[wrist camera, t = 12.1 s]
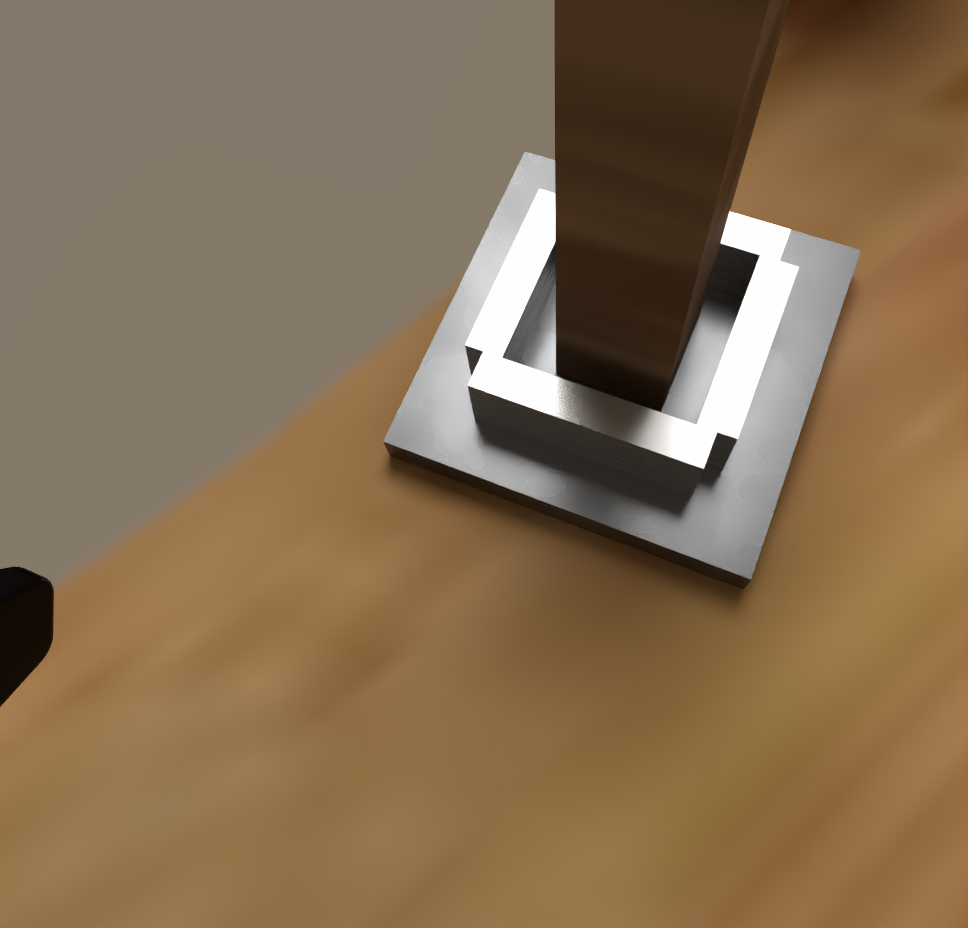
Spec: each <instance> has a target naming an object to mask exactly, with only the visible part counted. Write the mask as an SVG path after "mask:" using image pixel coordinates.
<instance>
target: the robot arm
mask: <svg viewBox="0 0 968 928" xmlns="http://www.w3.org/2000/svg"><path fill="white" fill-rule="evenodd" d="M53 613H54V589H53V586H52V584H51V582H50V581H49V580H48V579H47V578H45V577H43V576H40V575H38V574H36V573H34V572H32V571H29V570H27V569H25V568H21V567H9V568H4V569H0V707H1V705H2V704H3V703H4V702H5V701H6V700H7V699H8V698H9V697H10V696H11V694H12V693H13V692H14V691H15V690H16V689H17V688H18V687H19V686H20V684H21V683H22V682H23V681H24V680H25V679H26V678H27V677H28V676H29V675H30V673H31V672H32V671H33V670H34V669H35V668H36V667H37V666H38V665H39V663H40V662H41V661H42V660H43V659H44V657H45V656H46V654H47V653H48V651H49V649H50V646H51V643H52V640H53Z"/></svg>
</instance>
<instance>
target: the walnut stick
mask: <svg viewBox="0 0 968 928" xmlns="http://www.w3.org/2000/svg"><path fill="white" fill-rule="evenodd" d="M789 4H790V0H555V252H556V371H557V372H560V373H562V374H565V375H568V376H571V377H574V378H577V379H579V380H582V381H585V382H588V383H591V384H594V385H596V386H599V387H602V388H605V389H608V390H611V391H613V392H616V393H619V394H622V395H625V396H628V397H630V398H633V399H636V400H639V401H642V402H645V403H647V404H650V405H653V406H656V407H659V408H663V406H664V403H665V401H666V398H667V396H668V393H669V391H670V388H671V386H672V383H673V381H674V378H675V376H676V373H677V371H678V368H679V366H680V363H681V361H682V358H683V356H684V353H685V351H686V348H687V346H688V343H689V341H690V338H691V336H692V333H693V331H694V328H695V326H696V323H697V321H698V318H699V316H700V312H701V309H702V306H703V302H704V299H705V295H706V292H707V288H708V285H709V281H710V278H711V274H712V271H713V267H714V264H715V260H716V257H717V253H718V250H719V247H720V243H721V240H722V236H723V233H724V229H725V226H726V222H727V219H728V215H729V212H730V208H731V205H732V201H733V198H734V194H735V191H736V188H737V184H738V181H739V177H740V174H741V170H742V167H743V163H744V160H745V156H746V153H747V149H748V146H749V142H750V139H751V135H752V132H753V129H754V125H755V122H756V118H757V115H758V111H759V108H760V104H761V101H762V97H763V94H764V90H765V87H766V83H767V80H768V76H769V73H770V70H771V66H772V63H773V59H774V56H775V52H776V49H777V45H778V42H779V38H780V35H781V31H782V28H783V24H784V21H785V17H786V14H787V11H788V7H789Z"/></svg>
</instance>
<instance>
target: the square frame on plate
mask: <svg viewBox="0 0 968 928" xmlns="http://www.w3.org/2000/svg"><path fill="white" fill-rule="evenodd" d="M860 251H861V250H859V249H855V248H852V247H848V246H845V245H842V244H838V243H835V242H831V241H828V240H825V239H821V238H818V237H814V236H811V235H808V234H804V233H801V232H797V231H794V230H791V229H788V228H784V227H781V226H778V225H774V224H771V223H767V222H764V221H761V220H757V219H754V218H750V217H747V216H743V215H740V214H737V213H733V212H729V215H728V219H727V222H726V226H725V229H724V233H723V236H722V240H721V243H720V247H719V250H718V253H717V257H716V260H715V264H714V267H713V271H712V274H711V278H710V281H709V285H708V288H707V292H706V295H705V299H704V302H703V306H702V309H701V312H700V316H699V318H698V321H697V323H696V326H695V328H694V331H693V333H692V336H691V338H690V341H689V343H688V346H687V348H686V351H685V353H684V356H683V358H682V361H681V363H680V366H679V368H678V371H677V373H676V376H675V378H674V381H673V383H672V386H671V388H670V391H669V393H668V396H667V398H666V401H665V403H664V406H663V408H659V407H656V406H653V405H650V404H647V403H645V402H642V401H639V400H636V399H633V398H630V397H628V396H625V395H622V394H619V393H616V392H613V391H611V390H608V389H605V388H602V387H599V386H596V385H594V384H591V383H588V382H585V381H582V380H579V379H577V378H574V377H571V376H568V375H565V374H562V373H560V372H557V371H556V252H555V160H552V159H548V158H545V157H542V156H538V155H535V154H531V153H528V152H525V153H524V155H523V157H522V159H521V161H520V163H519V165H518V167H517V169H516V171H515V174H514V175H513V177H512V180H511V181H510V184H509V185H508V187H507V189H506V192H505V194H504V196H503V198H502V200H501V202H500V204H499V206H498V208H497V210H496V212H495V214H494V216H493V218H492V220H491V222H490V224H489V226H488V228H487V230H486V233H485V234H484V237H483V238H482V241H481V243H480V245H479V247H478V249H477V251H476V253H475V255H474V257H473V259H472V261H471V263H470V265H469V267H468V269H467V271H466V273H465V275H464V277H463V279H462V281H461V283H460V285H459V288H458V290H457V292H456V294H455V296H454V298H453V300H452V302H451V304H450V306H449V308H448V310H447V312H446V314H445V316H444V318H443V320H442V322H441V324H440V326H439V328H438V330H437V332H436V334H435V337H434V339H433V341H432V343H431V345H430V347H429V349H428V351H427V353H426V355H425V357H424V359H423V361H422V363H421V365H420V367H419V369H418V371H417V373H416V375H415V377H414V379H413V381H412V383H411V386H410V388H409V390H408V392H407V394H406V396H405V398H404V400H403V402H402V404H401V406H400V408H399V410H398V412H397V414H396V416H395V418H394V420H393V422H392V424H391V426H390V428H389V430H388V433H387V435H386V437H385V439H384V441H383V442H384V444H385V446H386V448H387V450H388V453H389V455H391V456H394V457H396V458H399V459H402V460H404V461H407V462H410V463H412V464H415V465H418V466H420V467H423V468H425V469H428V470H431V471H433V472H436V473H439V474H441V475H444V476H447V477H449V478H452V479H455V480H457V481H460V482H462V483H465V484H468V485H470V486H473V487H476V488H478V489H481V490H484V491H486V492H489V493H492V494H494V495H497V496H499V497H502V498H505V499H507V500H510V501H513V502H515V503H518V504H521V505H523V506H526V507H529V508H531V509H534V510H536V511H539V512H542V513H544V514H547V515H550V516H552V517H555V518H558V519H560V520H563V521H565V522H568V523H571V524H573V525H576V526H579V527H581V528H584V529H587V530H589V531H592V532H595V533H597V534H600V535H602V536H605V537H608V538H610V539H613V540H616V541H618V542H621V543H624V544H626V545H629V546H632V547H634V548H637V549H639V550H642V551H645V552H647V553H650V554H653V555H655V556H658V557H661V558H663V559H666V560H669V561H671V562H674V563H676V564H679V565H682V566H684V567H687V568H690V569H692V570H695V571H698V572H700V573H703V574H706V575H708V576H711V577H713V578H716V579H719V580H721V581H724V582H727V583H729V584H732V585H735V586H737V587H740V588H743V589H744V588H745V586H746V585H747V584H748V583H749V582H750V580H751V579H752V576H753V573H754V570H755V567H756V564H757V561H758V558H759V555H760V552H761V549H762V546H763V543H764V540H765V537H766V534H767V531H768V528H769V525H770V522H771V519H772V516H773V513H774V510H775V507H776V504H777V501H778V498H779V495H780V492H781V489H782V486H783V483H784V480H785V477H786V474H787V471H788V468H789V465H790V462H791V459H792V456H793V453H794V450H795V447H796V444H797V441H798V438H799V435H800V432H801V429H802V426H803V423H804V420H805V417H806V414H807V411H808V408H809V405H810V402H811V399H812V396H813V393H814V390H815V387H816V384H817V381H818V378H819V375H820V372H821V369H822V366H823V362H824V359H825V356H826V353H827V350H828V347H829V344H830V341H831V338H832V335H833V332H834V329H835V326H836V323H837V320H838V317H839V314H840V311H841V308H842V305H843V302H844V299H845V296H846V293H847V290H848V287H849V284H850V281H851V278H852V275H853V272H854V269H855V266H856V263H857V260H858V257H859V254H860Z"/></svg>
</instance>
